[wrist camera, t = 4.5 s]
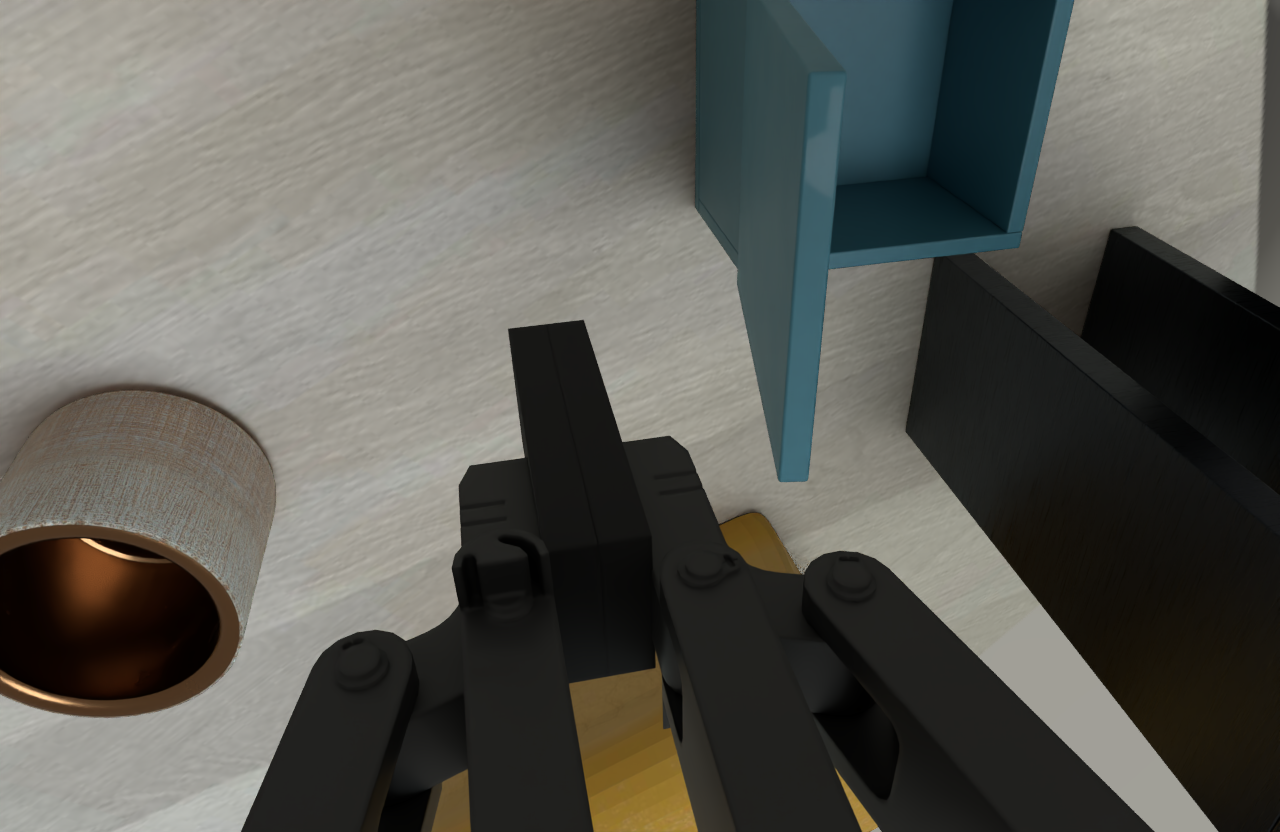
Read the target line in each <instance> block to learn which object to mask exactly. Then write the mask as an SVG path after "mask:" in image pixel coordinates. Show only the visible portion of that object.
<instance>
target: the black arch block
mask: <svg viewBox="0 0 1280 832" xmlns="http://www.w3.org/2000/svg"><path fill="white" fill-rule="evenodd" d="M906 433H907V434H908V435H909V437H910V438H911V439H912V440H913V442H914V443H915V444H916V446H917V447H918V448H919V449H920V451H921V452H922V453H923V455H924V456H925V457H926V458H927V460H928V461H929V462H930V463H931V465H932V466H933V467H934V469H935V470H936V471H937V472H938V474H939V475H940V476H941V478H942V479H943V480H944V481H945V483H946V484H947V485H948V486H949V488H950V489H951V490H952V492H953V493H954V494H955V495H956V497H957V498H958V499H959V501H960V502H961V503H962V504H963V506H964V507H965V508H966V509H967V511H968V512H969V513H970V515H971V516H972V517H973V518H974V520H975V521H976V522H977V524H978V525H979V526H980V527H981V529H982V530H983V531H984V532H985V534H986V535H987V536H988V538H989V539H990V540H991V541H992V543H993V544H994V545H995V547H996V548H997V549H998V550H999V552H1000V553H1001V554H1002V555H1003V557H1004V558H1005V559H1006V561H1007V562H1008V563H1009V564H1010V566H1011V567H1012V568H1013V570H1014V571H1015V572H1016V573H1017V575H1018V576H1019V577H1020V579H1021V580H1022V581H1023V582H1024V584H1025V585H1026V586H1027V587H1028V589H1029V590H1030V591H1031V593H1032V594H1033V595H1034V596H1035V598H1036V599H1037V600H1038V602H1039V603H1040V604H1041V605H1042V607H1043V608H1044V609H1045V610H1046V612H1047V613H1048V614H1049V616H1050V617H1051V618H1052V619H1053V621H1054V622H1055V623H1056V625H1057V626H1058V627H1059V628H1060V630H1061V631H1062V632H1063V633H1064V635H1065V636H1066V637H1067V639H1068V640H1069V641H1070V642H1071V644H1072V645H1073V646H1074V647H1075V649H1076V650H1077V651H1078V652H1079V654H1080V655H1081V656H1082V658H1083V659H1084V660H1085V662H1086V663H1087V664H1088V665H1089V666H1090V668H1091V669H1092V670H1093V672H1094V673H1095V674H1096V676H1097V677H1098V678H1099V679H1100V681H1101V682H1102V683H1103V685H1104V686H1105V687H1106V688H1107V689H1108V691H1109V692H1110V694H1111V695H1112V696H1113V697H1114V699H1115V700H1116V701H1117V702H1118V704H1119V705H1120V706H1121V708H1122V709H1123V710H1124V711H1125V713H1126V714H1127V715H1128V717H1129V718H1130V719H1131V720H1132V721H1133V723H1134V724H1135V725H1136V727H1137V728H1138V729H1139V730H1140V732H1141V733H1142V734H1143V736H1144V737H1145V738H1146V740H1147V741H1148V742H1149V743H1150V745H1151V746H1152V747H1153V749H1154V750H1155V751H1156V752H1157V754H1158V755H1159V756H1160V757H1161V759H1162V760H1163V761H1164V763H1165V764H1166V765H1167V766H1168V768H1169V769H1170V770H1171V772H1172V773H1173V774H1174V775H1175V777H1176V778H1177V779H1178V780H1179V782H1180V783H1181V784H1182V786H1183V787H1184V788H1185V789H1186V791H1187V792H1188V793H1189V795H1190V796H1191V797H1192V798H1193V800H1194V801H1195V802H1196V803H1197V805H1198V806H1199V807H1200V809H1201V810H1202V811H1203V812H1204V814H1205V815H1206V816H1207V817H1208V819H1209V820H1210V821H1211V823H1212V824H1213V825H1214V826H1215V828H1216V829H1217V830H1218V832H1280V307H1278V306H1276V305H1274V304H1273V303H1271V302H1269V301H1267V300H1266V299H1264V298H1262V297H1260V296H1259V295H1257V294H1255V293H1253V292H1251V291H1250V290H1248V289H1246V288H1244V287H1243V286H1241V285H1239V284H1237V283H1236V282H1234V281H1232V280H1230V279H1229V278H1227V277H1225V276H1223V275H1222V274H1220V273H1218V272H1216V271H1215V270H1213V269H1211V268H1209V267H1208V266H1206V265H1204V264H1202V263H1201V262H1199V261H1197V260H1195V259H1194V258H1192V257H1190V256H1188V255H1187V254H1185V253H1183V252H1181V251H1179V250H1178V249H1176V248H1174V247H1172V246H1171V245H1169V244H1167V243H1165V242H1164V241H1162V240H1160V239H1158V238H1157V237H1155V236H1153V235H1151V234H1150V233H1148V232H1146V231H1144V230H1143V229H1141V228H1139V227H1128V228H1119V229H1112V230H1111V233H1110V236H1109V240H1108V243H1107V247H1106V250H1105V254H1104V257H1103V261H1102V264H1101V268H1100V272H1099V275H1098V279H1097V282H1096V286H1095V289H1094V293H1093V296H1092V300H1091V304H1090V307H1089V311H1088V314H1087V318H1086V321H1085V325H1084V328H1083V332H1082V335H1081V338H1080V337H1079V336H1077V335H1076V334H1075V333H1074V332H1072V331H1071V330H1070V329H1069V328H1067V327H1066V326H1065V325H1064V324H1062V323H1061V322H1060V321H1058V320H1057V319H1056V318H1055V317H1053V316H1052V315H1051V314H1050V313H1048V312H1047V311H1046V310H1045V309H1043V308H1042V307H1041V306H1040V305H1038V304H1037V303H1036V302H1034V301H1033V300H1032V299H1031V298H1029V297H1028V296H1027V295H1026V294H1024V293H1023V292H1022V291H1021V290H1019V289H1018V288H1017V287H1015V286H1014V285H1013V284H1012V283H1010V282H1009V281H1008V280H1007V279H1005V278H1004V277H1003V276H1002V275H1000V274H999V273H998V272H996V271H995V270H994V269H993V268H991V267H990V266H989V265H988V264H986V263H985V262H984V261H983V260H981V259H980V258H979V257H978V256H976V255H975V254H974V253H968V254H959V255H951V256H942V257H935V260H934V266H933V272H932V278H931V284H930V290H929V296H928V302H927V308H926V314H925V320H924V325H923V331H922V337H921V343H920V349H919V355H918V361H917V367H916V373H915V379H914V385H913V391H912V397H911V403H910V409H909V415H908V421H907V427H906Z"/></svg>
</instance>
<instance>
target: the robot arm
mask: <svg viewBox="0 0 1280 832" xmlns="http://www.w3.org/2000/svg"><path fill="white" fill-rule="evenodd" d="M508 332H509V340H510V348H511V355H512V363H513V371H514V379H515V387H516V395H517V403H518V411H519V419H520V426H521V434H522V442H523V449H524V455H525V458H521V459H514V460H507V461H500V462H493V463H486V464H478V465H471V466H470V467H469V468H468V470H467V472H466V474H465V475H464V477H463V479H462V481H461V482H460V484H459V503H460V523H461V545H462V547H461V548H460V550H459V551H458V552H457V553H456V554H455V557H454V561H453V565H452V572H453V577H454V582H455V587H456V592H457V597H458V602H459V605H458V607H457V608H456V609H455V611H454V612H453V613H452V614H451V616H450V617H449V618H447V619H446V620H445V621H444V622H442V623H441V624H440V625H439V626H437V627H435V628H433V629H431V630H430V631H428V632H426V633H424V634H421V635H419V636H417V637H415V638H412V639H410V640H408V641H405V640H403V639H402V638H400V637H399V636H397V635H396V634H394V633H391V632H385V631H379V630H372V631H364V632H357V633H355V634H352V635H350V636H347V637H345V638H343V639H340V640H338V641H337V642H335V643H334V644H333V645H332V646H330V647H329V648H328V649H326V650H325V651H324V652H323V653H322V654H321V656H320V657H319V659H318V660H317V662H316V663H315V664H314V666H313V667H312V670H311V672H310V674H309V677H308V679H307V681H306V683H305V686H304V688H303V690H302V693H301V695H300V697H299V700H298V702H297V704H296V706H295V709H294V711H293V713H292V716H291V718H290V720H289V723H288V725H287V727H286V729H285V732H284V734H283V736H282V739H281V741H280V743H279V746H278V748H277V750H276V752H275V755H274V757H273V759H272V762H271V764H270V766H269V769H268V771H267V773H266V775H265V778H264V780H263V782H262V785H261V787H260V789H259V792H258V794H257V796H256V798H255V801H254V803H253V805H252V808H251V810H250V812H249V815H248V817H247V819H246V821H245V824H244V826H243V828H242V831H241V832H431V831H432V827H433V823H434V819H435V815H436V811H437V807H438V803H439V799H440V795H441V791H442V782H443V781H445V780H447V779H449V778H451V777H453V776H455V775H457V774H459V773H461V772H463V771H465V770H467V769H468V786H469V807H470V829H471V832H594V830H593V824H592V818H591V812H590V806H589V800H588V794H587V788H586V782H585V776H584V770H583V764H582V759H581V753H580V747H579V741H578V735H577V729H576V723H575V717H574V711H573V705H572V699H571V693H570V687H569V684H570V683H575V682H581V681H587V680H592V679H598V678H603V677H609V676H615V675H620V674H626V673H631V672H637V671H643V670H648V669H654V668H656V659H655V651H656V655H657V658H658V662H659V665H660V669H661V673H662V705H663V729H668V728H671V732H672V735H673V739H674V743H675V747H676V750H677V754H678V758H679V762H680V765H681V769H682V773H683V777H684V781H685V784H686V788H687V792H688V796H689V799H690V803H691V807H692V811H693V814H694V818H695V822H696V826H697V829H698V832H862V830H861V828H860V825H859V823H858V821H857V818H856V816H855V814H854V811H853V809H852V807H851V804H850V802H849V800H848V797H847V795H846V793H845V790H844V788H843V786H842V783H841V781H840V779H839V776H838V774H837V772H836V770H837V771H838V773H839V774H840V776H841V777H842V778H843V780H844V781H845V782H846V784H847V785H848V786H849V788H850V789H851V790H852V792H853V793H854V795H855V796H856V797H857V799H858V800H859V801H860V803H861V804H862V805H863V807H864V808H865V809H866V811H867V812H868V814H869V815H870V816H871V818H872V819H873V820H874V822H875V823H876V824H877V826H878V827H879V828H880V830H881V831H882V832H1154V831H1153V830H1152V829H1151V828H1150V827H1149V826H1148V825H1147V824H1146V823H1145V822H1144V821H1143V820H1142V819H1141V818H1140V817H1139V816H1138V815H1137V814H1136V813H1135V812H1134V811H1133V810H1132V809H1131V808H1130V807H1129V806H1128V805H1127V804H1126V803H1125V802H1124V801H1123V800H1122V799H1121V798H1120V797H1119V796H1118V795H1117V794H1116V793H1115V792H1114V791H1113V790H1112V789H1111V788H1110V787H1109V786H1108V785H1107V784H1106V783H1105V782H1104V781H1103V780H1102V779H1101V778H1100V777H1099V776H1098V775H1097V774H1096V773H1095V772H1093V770H1092V769H1091V768H1090V767H1089V766H1088V765H1086V763H1085V762H1084V761H1083V760H1082V759H1081V758H1080V757H1079V756H1078V755H1077V754H1076V753H1075V752H1074V751H1073V750H1072V749H1071V748H1069V747H1068V746H1067V745H1066V744H1065V743H1064V742H1063V741H1062V740H1061V739H1060V738H1059V737H1058V736H1057V735H1056V734H1055V733H1054V732H1053V731H1052V730H1051V729H1050V728H1049V727H1048V726H1047V725H1046V724H1045V723H1044V722H1043V721H1042V720H1041V719H1040V718H1039V717H1038V716H1037V715H1036V714H1035V713H1034V712H1033V711H1032V710H1031V709H1030V708H1029V707H1028V706H1027V705H1026V704H1025V703H1024V702H1023V701H1022V700H1021V699H1020V698H1019V697H1018V696H1017V695H1016V694H1015V693H1014V692H1013V691H1012V690H1011V689H1010V688H1009V687H1008V686H1007V685H1006V684H1005V683H1004V682H1003V681H1002V680H1001V679H1000V678H999V677H998V676H997V675H996V674H995V673H994V672H993V671H992V670H991V669H990V668H989V667H988V666H987V665H986V664H985V663H984V662H983V661H982V660H981V659H980V658H979V657H978V656H977V655H976V654H975V653H974V652H973V651H972V650H971V649H970V648H969V647H968V646H967V645H966V644H965V643H964V642H963V641H962V640H960V639H959V638H958V637H957V636H956V635H955V634H954V633H953V632H952V631H951V630H950V629H949V628H948V627H947V626H946V625H945V624H944V623H943V622H942V621H941V620H940V619H939V618H938V617H937V616H936V615H935V614H934V613H933V612H932V611H931V610H930V609H929V608H928V607H927V606H926V605H925V604H924V603H923V602H922V601H921V600H920V599H919V598H918V597H917V596H916V595H915V594H914V593H913V592H912V591H911V590H910V589H909V588H908V587H907V586H906V585H905V584H904V583H903V582H902V581H901V580H900V579H899V578H898V577H897V576H896V575H895V574H894V573H893V572H892V571H891V570H890V569H889V568H888V567H886V566H885V565H883V564H882V563H881V562H879V561H878V560H876V559H875V558H872V557H869V556H867V555H864V554H861V553H858V552H847V551H837V552H832V553H827V554H823V555H822V556H820V557H818V558H817V559H815V560H813V561H812V562H811V563H810V565H809V566H808V568H807V569H806V571H805V573H804V575H803V574H791V573H780V572H773V571H767V570H762V569H760V568H757V567H754V566H751V565H749V564H748V563H746V561H745V560H744V559H743V557H742V556H741V555H740V553H739V552H737V551H735V550H734V549H732V548H730V547H729V546H728V545H727V543H726V541H725V538H724V536H723V534H722V531H721V529H720V526H719V524H718V522H717V519H716V517H715V514H714V512H713V510H712V507H711V505H710V502H709V500H708V498H707V495H706V493H705V490H704V489H703V487H702V483H701V481H700V478H699V476H698V474H697V473H696V469H695V466H694V464H693V462H692V459H691V457H690V454H689V452H688V450H686V449H685V448H684V447H683V446H681V445H680V444H679V443H678V442H677V441H675V440H674V439H673V438H672V437H671V436H665V437H657V438H650V439H643V440H636V441H629V442H622V440H621V436H620V433H619V430H618V427H617V424H616V421H615V417H614V414H613V411H612V408H611V405H610V402H609V398H608V395H607V392H606V389H605V386H604V383H603V379H602V376H601V373H600V370H599V367H598V364H597V360H596V357H595V354H594V351H593V348H592V345H591V342H590V338H589V335H588V332H587V329H586V326H585V323H584V320H579V321H570V322H562V323H553V324H545V325H536V326H528V327H520V328H511V329H508Z"/></svg>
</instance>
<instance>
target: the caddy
mask: <svg viewBox="0 0 1280 832" xmlns="http://www.w3.org/2000/svg"><path fill="white" fill-rule="evenodd" d="M789 2H790V3H791V4H792V5H793V7H794V8H795V9H796V10H797V11H798V13H799V14H800V15H801V16H802V18H803V19H804V20H805V21H806V23H807V24H808V25H809V26H810V27H811V29H812V30H813V31H814V32H815V34H816V35H817V36H818V37H819V39H820V40H821V41H822V42H823V43H824V45H825V46H826V47H827V48H828V50H829V51H830V52H831V53H832V54H833V56H834V57H835V58H836V59H837V61H838V62H839V63H840V64H841V66H842V67H843V68H844V69H845V70H846V72H847V83H846V93H845V103H844V114H843V124H842V134H841V145H840V155H839V166H838V176H837V186H836V197H835V207H834V217H833V228H832V238H831V248H830V259H829V269H836V268H845V267H854V266H862V265H871V264H880V263H889V262H898V261H906V260H915V259H924V258H933V257H942V256H951V255H959V254H968V253H977V252H986V251H995V250H1003V249H1012V248H1018V247H1019V245H1020V241H1021V236H1022V232H1021V231H1023V228H1024V223H1025V219H1026V214H1027V210H1028V205H1029V201H1030V197H1031V192H1032V188H1033V183H1034V179H1035V174H1036V170H1037V165H1038V161H1039V156H1040V152H1041V147H1042V143H1043V138H1044V134H1045V129H1046V125H1047V120H1048V116H1049V111H1050V107H1051V102H1052V98H1053V93H1054V89H1055V84H1056V80H1057V76H1058V71H1059V67H1060V62H1061V58H1062V53H1063V49H1064V44H1065V40H1066V35H1067V31H1068V26H1069V22H1070V17H1071V13H1072V8H1073V4H1074V0H789ZM746 13H747V0H696V157H695V208H696V210H697V211H698V213H699V214H700V215H701V217H702V218H703V220H704V221H705V222H706V224H707V225H708V227H709V228H710V230H711V231H712V233H713V234H714V235H715V237H716V238H717V240H718V241H719V243H720V244H721V246H722V247H723V248H724V250H725V251H726V253H727V254H728V256H729V257H730V259H731V260H732V261H733V263H734V264H735V266H736V267H737V269H738V244H739V216H740V187H741V158H742V129H743V100H744V71H745V42H746Z"/></svg>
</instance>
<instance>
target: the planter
mask: <svg viewBox="0 0 1280 832" xmlns="http://www.w3.org/2000/svg"><path fill="white" fill-rule="evenodd" d="M275 505H276V489H275V481H274V476H273V473H272V470H271V467H270V464H269V462H268V460H267V458H266V457H265V455H264V453H263V452H262V450H261V449H260V447H259V446H258V445H257V443H256V442H255V441H254V440H253V439H252V437H251V436H250V435H249V434H248V433H247V432H245V431H244V430H243V429H242V428H241V427H240V426H238V425H237V424H236V423H235V422H233V421H232V420H230V419H229V418H227V417H226V416H224V415H223V414H221V413H219V412H217V411H216V410H214V409H212V408H210V407H208V406H205V405H203V404H201V403H198V402H196V401H193V400H190V399H187V398H184V397H180V396H177V395H172V394H167V393H162V392H155V391H146V390H121V391H111V392H104V393H99V394H95V395H91V396H88V397H84V398H82V399H79V400H76V401H74V402H72V403H69V404H67V405H65V406H64V407H62V408H60V409H58V410H57V411H56V412H54V413H53V414H51V415H50V416H49V417H48V418H47V419H45V420H44V421H43V422H42V423H41V424H40V425H39V426H38V427H37V428H36V429H35V430H34V431H33V432H32V433H31V435H30V436H29V437H28V439H27V440H26V442H25V443H24V445H23V447H22V448H21V450H20V451H19V453H18V454H17V456H16V458H15V459H14V461H13V462H12V464H11V466H10V467H9V469H8V471H7V472H6V474H5V475H4V477H3V479H2V480H1V482H0V695H2V696H4V697H7V698H9V699H11V700H14V701H16V702H19V703H21V704H24V705H27V706H30V707H33V708H37V709H40V710H44V711H48V712H52V713H58V714H63V715H70V716H78V717H90V718H118V717H130V716H137V715H143V714H149V713H153V712H157V711H161V710H165V709H168V708H171V707H174V706H177V705H179V704H182V703H184V702H186V701H189V700H191V699H193V698H195V697H197V696H198V695H200V694H202V693H203V692H205V691H206V690H208V689H209V688H211V687H212V686H213V685H214V684H216V683H217V682H218V681H219V680H220V679H221V678H222V677H223V676H224V675H225V674H226V673H227V671H228V670H229V669H230V668H231V666H232V665H233V663H234V661H235V660H236V658H237V656H238V653H239V651H240V648H241V645H242V641H243V637H244V633H245V629H246V625H247V621H248V616H249V612H250V608H251V604H252V600H253V595H254V591H255V587H256V584H257V580H258V576H259V572H260V568H261V564H262V560H263V556H264V552H265V549H266V545H267V541H268V537H269V533H270V529H271V525H272V521H273V517H274V512H275Z"/></svg>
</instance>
